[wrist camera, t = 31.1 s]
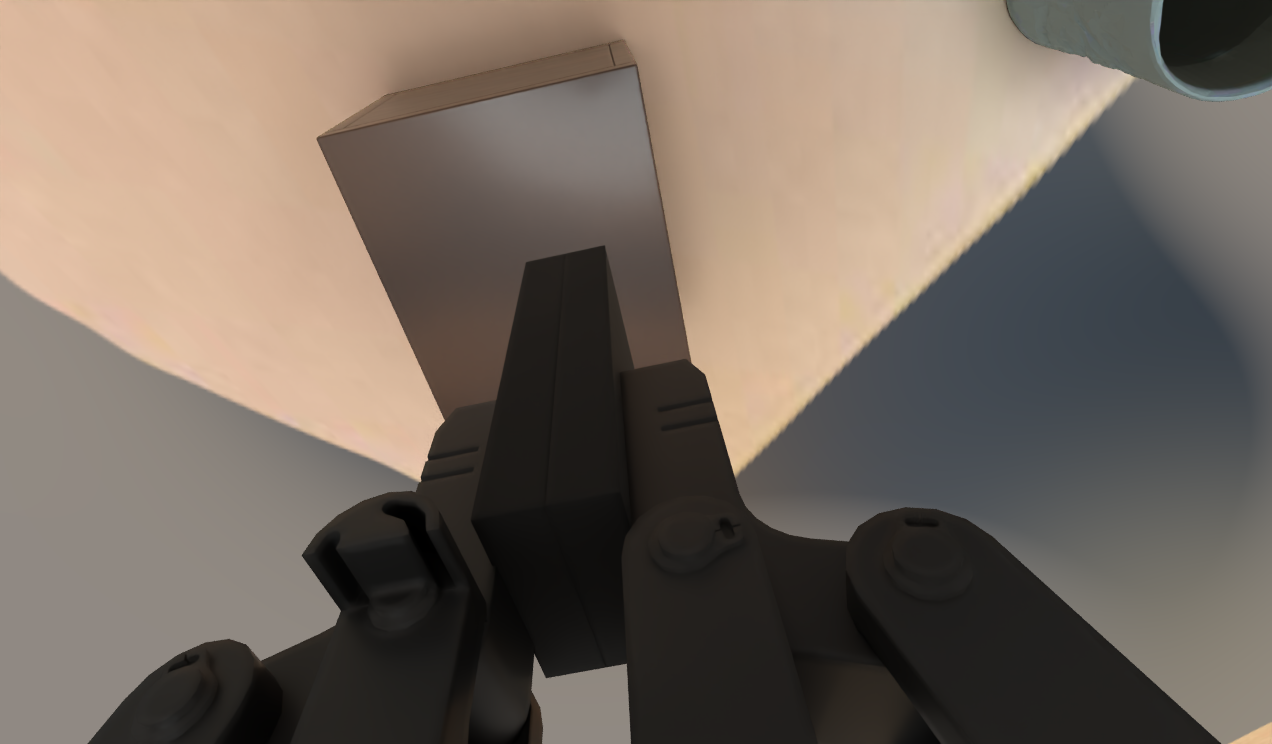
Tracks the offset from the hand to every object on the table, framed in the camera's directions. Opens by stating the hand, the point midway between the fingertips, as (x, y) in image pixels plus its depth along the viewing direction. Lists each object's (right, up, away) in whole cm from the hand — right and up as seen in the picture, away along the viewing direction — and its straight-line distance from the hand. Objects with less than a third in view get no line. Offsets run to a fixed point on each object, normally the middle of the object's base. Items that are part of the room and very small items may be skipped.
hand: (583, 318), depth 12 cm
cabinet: (-5, +9, +27) cm, 29 cm away
